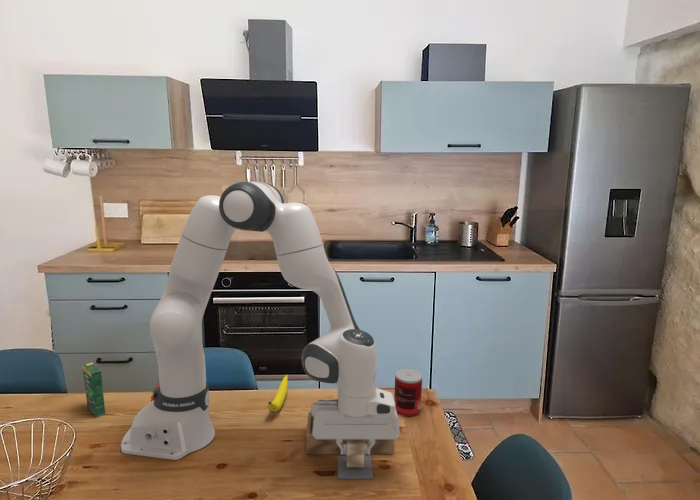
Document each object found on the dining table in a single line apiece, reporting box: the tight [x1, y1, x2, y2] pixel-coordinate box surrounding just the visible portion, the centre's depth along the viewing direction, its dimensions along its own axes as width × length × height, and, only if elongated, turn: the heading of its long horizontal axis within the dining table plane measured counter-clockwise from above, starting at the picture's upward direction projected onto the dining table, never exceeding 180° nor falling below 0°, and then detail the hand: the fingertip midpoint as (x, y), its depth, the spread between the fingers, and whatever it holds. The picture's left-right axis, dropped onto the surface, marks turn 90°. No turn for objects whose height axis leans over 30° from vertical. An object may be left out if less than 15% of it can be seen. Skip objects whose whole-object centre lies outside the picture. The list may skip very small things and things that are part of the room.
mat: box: [337, 455, 374, 480], centre depth 118 cm, size 8×8×1 cm
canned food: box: [393, 368, 423, 417], centre depth 143 cm, size 8×8×11 cm
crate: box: [305, 410, 395, 455], centre depth 129 cm, size 22×12×5 cm, turn 92°
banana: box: [267, 374, 289, 412], centre depth 144 cm, size 3×19×6 cm, turn 173°
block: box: [345, 439, 365, 467], centre depth 118 cm, size 4×4×6 cm
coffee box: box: [81, 361, 106, 418], centre depth 139 cm, size 8×3×13 cm, turn 43°
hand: (355, 453), depth 118 cm, fingers closed on block, 4 cm apart
